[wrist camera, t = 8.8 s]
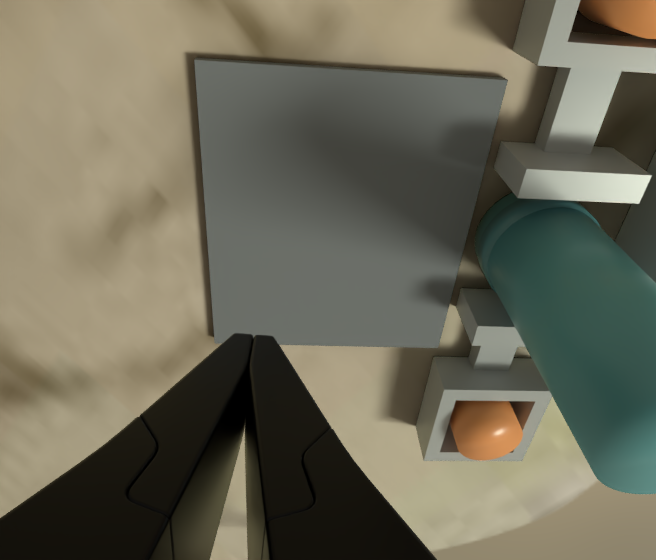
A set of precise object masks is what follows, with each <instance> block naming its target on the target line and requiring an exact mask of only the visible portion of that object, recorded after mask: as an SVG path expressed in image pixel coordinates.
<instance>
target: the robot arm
mask: <svg viewBox="0 0 656 560" xmlns="http://www.w3.org/2000/svg"><path fill="white" fill-rule="evenodd" d="M244 427H245V468H246V506H247V543H248V560H437V559H436V558H435V557H434V556H433V554H432V553H431V552H430V551H429V550H428V548H427V547H426V546H425V545H424V544H423V543H422V541H421V540H420V539H419V538H418V537H417V535H416V534H415V533H414V532H413V531H412V530H411V528H410V527H409V526H408V525H407V524H406V522H405V521H404V520H403V519H402V518H401V517H400V515H399V514H398V513H397V512H396V511H395V510H394V508H393V507H392V506H391V505H390V504H389V502H388V501H387V500H386V499H385V498H384V497H383V495H382V494H381V493H380V492H379V491H378V489H377V488H376V487H375V486H374V485H373V484H372V482H371V481H370V480H369V479H368V478H367V476H366V475H365V474H364V473H363V471H362V470H361V469H360V468H359V466H358V465H357V464H356V463H355V461H354V460H353V459H352V457H351V456H350V454H349V453H348V452H347V450H346V449H345V447H344V446H343V444H342V443H341V441H340V440H339V438H338V437H337V435H336V433H335V432H334V430H333V429H331V426H330V425H329V423H328V422H327V420H326V418H325V417H324V415H323V414H322V412H321V411H320V409H319V407H318V406H317V404H316V403H315V401H314V399H313V398H312V396H311V395H310V393H309V392H308V390H307V388H306V387H305V385H304V384H303V382H302V380H301V379H300V377H299V376H298V374H297V373H296V371H295V369H294V368H293V366H292V365H291V363H290V361H289V360H288V358H287V357H286V355H285V354H284V352H283V350H282V349H281V347H280V346H279V344H278V343H277V341H276V339H275V338H274V337H273V336H269V335H255V336H254V338H253V335H252V334H244V333H234V334H233V335H231V336H230V337H229V338H228V339H227V340H226V341H225V342H223V343H222V344H221V345H220V346H219V347H218V348H217V349H215V350H214V351H213V352H212V353H211V354H210V355H209V356H207V357H206V358H205V359H204V360H203V361H202V362H201V363H199V364H198V365H197V366H196V367H195V368H194V369H193V370H191V371H190V372H189V373H188V374H187V375H186V376H184V377H183V378H182V379H181V380H180V381H179V382H178V383H176V384H175V385H174V386H173V387H172V388H171V389H170V390H168V391H167V392H166V393H165V394H164V395H163V396H162V397H160V398H159V399H158V400H157V401H156V402H155V403H154V404H152V405H151V406H150V407H149V408H148V409H147V410H146V411H144V412H143V413H142V414H141V415H140V417H137V418H135V419H134V420H133V421H132V422H131V423H130V424H129V425H127V426H126V427H125V428H124V429H123V430H121V431H120V432H119V433H118V434H117V435H115V436H114V437H113V438H112V439H111V440H109V441H108V442H107V443H106V444H104V445H103V446H102V447H100V448H99V449H98V450H96V451H95V452H94V453H92V454H91V455H89V456H88V457H87V458H85V459H84V460H83V461H81V462H80V463H79V464H77V465H76V466H74V467H73V468H71V469H70V470H69V471H67V472H66V473H64V474H63V475H61V476H60V477H59V478H57V479H56V480H54V481H53V482H51V483H50V484H49V485H47V486H46V487H44V488H43V489H41V490H40V491H39V492H37V493H36V494H34V495H33V496H31V497H30V498H28V499H27V500H26V501H24V502H23V503H21V504H20V505H18V506H17V507H16V508H14V509H13V510H11V511H10V512H8V513H7V514H6V515H4V516H3V517H1V518H0V560H210V556H211V552H212V548H213V545H214V541H215V537H216V534H217V530H218V526H219V523H220V519H221V515H222V512H223V508H224V504H225V500H226V497H227V493H228V489H229V486H230V482H231V478H232V475H233V471H234V467H235V464H236V460H237V456H238V452H239V449H240V445H241V441H242V437H243V433H244Z"/></svg>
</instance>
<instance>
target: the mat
mask: <svg viewBox="0 0 656 560" xmlns="http://www.w3.org/2000/svg"><path fill="white" fill-rule="evenodd" d="M194 63H195V77H196V91H197V105H198V118H199V132H200V146H201V160H202V174H203V188H204V202H205V215H206V229H207V243H208V257H209V271H210V285H211V299H212V312H213V326H214V340H215V343H223V342H225V341H226V340H227V339H228V338H229V337H230V336H231V335H233V334H234V333H244V334H252V335H253V338H254V336H255V335H269V336H273V337H274V338H275V339H276V341H277V343H278V344H279V345H319V346H366V347H413V348H438V346H439V342H440V338H441V335H442V331H443V327H444V323H445V319H446V315H447V312H448V308H449V304H450V300H451V296H452V292H453V289H454V285H455V281H456V277H457V273H458V269H459V266H460V262H461V258H462V254H463V250H464V246H465V242H466V239H467V235H468V231H469V227H470V223H471V219H472V216H473V212H474V208H475V204H476V200H477V196H478V193H479V189H480V185H481V181H482V177H483V173H484V170H485V166H486V162H487V158H488V154H489V150H490V146H491V143H492V139H493V135H494V131H495V127H496V123H497V120H498V116H499V112H500V108H501V104H502V100H503V97H504V93H505V89H506V85H507V81H508V80H507V79H505V78H501V77H486V76H470V75H455V74H440V73H424V72H409V71H394V70H379V69H363V68H348V67H333V66H317V65H302V64H287V63H272V62H256V61H241V60H226V59H210V58H195V60H194Z"/></svg>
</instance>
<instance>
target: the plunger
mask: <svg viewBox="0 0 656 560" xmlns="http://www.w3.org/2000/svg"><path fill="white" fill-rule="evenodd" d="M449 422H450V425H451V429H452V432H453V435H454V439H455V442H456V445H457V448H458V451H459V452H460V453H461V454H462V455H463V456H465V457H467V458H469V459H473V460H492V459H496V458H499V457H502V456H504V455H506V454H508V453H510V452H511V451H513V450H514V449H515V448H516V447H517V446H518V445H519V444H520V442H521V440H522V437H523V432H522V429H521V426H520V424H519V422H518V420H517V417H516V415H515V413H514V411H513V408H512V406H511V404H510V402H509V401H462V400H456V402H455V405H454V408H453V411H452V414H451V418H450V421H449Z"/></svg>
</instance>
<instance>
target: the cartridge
mask: <svg viewBox="0 0 656 560" xmlns="http://www.w3.org/2000/svg"><path fill="white" fill-rule="evenodd" d="M474 244H475V252H476V255H477V257H478V261H479V265H480V267H481V270H482V271H483V273H484V275H485V277H486V279H487V281H488V283H489V284H490V286H491V288H492V289H493V290H494V291H495V292H496V293H497V295H498V296H499V298H500V300H501V302H502V304H503V306H504V308H505V309H506V311H507V313H508V315H509V317H510V319H511V321H512V322H513V324H514V326H515V328H516V330H517V332H518V334H519V335H520V337H521V339H522V341H523V343H524V345H525V346H526V348H527V350H528V352H529V354H530V356H531V358H532V359H533V361H534V363H535V365H536V367H537V369H538V371H539V372H540V374H541V376H542V378H543V380H544V382H545V384H546V385H547V387H548V389H549V391H550V393H551V395H552V397H553V398H554V400H555V402H556V404H557V406H558V408H559V409H560V411H561V413H562V415H563V417H564V419H565V421H566V422H567V424H568V426H569V428H570V430H571V432H572V434H573V435H574V437H575V439H576V441H577V443H578V445H579V447H580V448H581V450H582V452H583V454H584V456H585V458H586V460H587V461H588V463H589V465H590V467H591V469H592V471H593V472H594V474H595V476H596V477H597V479H598V480H599V481H600V482H602V483H603V484H604V485H606V486H608V487H610V488H612V489H614V490H617V491H621V492H625V493H632V494H655V493H656V283H655V282H654V281H653V280H652V279H651V278H650V277H649V276H648V275H647V274H646V273H645V272H644V271H643V270H642V269H641V268H640V267H639V266H638V265H637V264H636V263H635V262H634V261H633V260H632V259H631V258H630V257H629V256H628V255H627V254H626V253H625V252H624V251H623V250H622V249H621V248H620V247H619V246H618V245H617V244H616V243H615V242H614V241H613V240H612V239H611V238H610V237H609V236H608V235H607V234H606V233H605V232H604V231H603V230H602V229H601V227H600V225H599V223H598V222H597V220H596V219H595V218H594V217H593V216H592V215H591V214H590V213H589V212H588V211H587V210H586V209H585V208H584V207H583V206H582V205H581V204H580V203H579V202H577V201H569V200H548V199H526V198H517V197H516V195H515V194H514V193H511V194H509V195H507V196H505V197H503V198H502V199H501V200H499V201H498V202H496V203H495V204H494V205H493V206H492V207H491V208H490V209H489V210H488V211H487V212H486V214H485V215H484V217H483V218H482V220H481V221H480V223H479V225H478V228H477V230H476V234H475V241H474Z"/></svg>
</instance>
